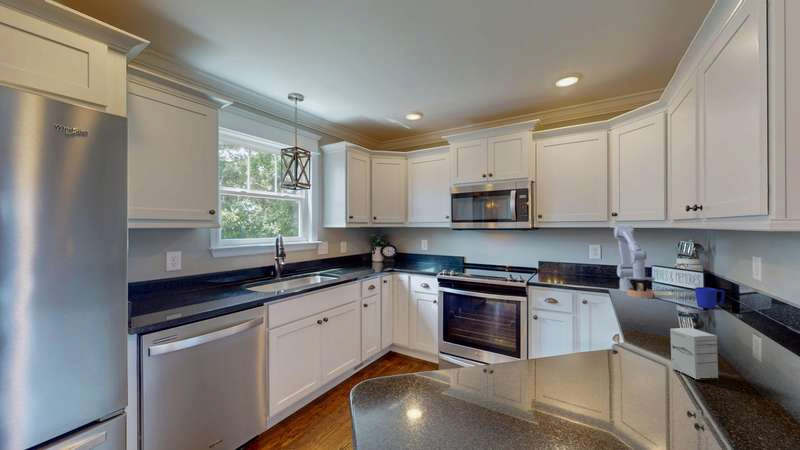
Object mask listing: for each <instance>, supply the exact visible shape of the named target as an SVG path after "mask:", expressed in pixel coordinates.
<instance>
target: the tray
mask: <svg viewBox="0 0 800 450" xmlns="http://www.w3.org/2000/svg"><path fill="white" fill-rule="evenodd" d="M653 298H657V299H660V298H661V299H678V300H679V299H680V298H681V297H680V295H679V294H676V293H674V292H673V291H667V290H666V291H665V290H653Z"/></svg>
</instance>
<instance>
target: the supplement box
mask: <svg viewBox="0 0 800 450" xmlns="http://www.w3.org/2000/svg"><path fill="white" fill-rule="evenodd" d="M669 331H670V332H669V333H670V358H671V359H670V360H671V361H670V362H671V363H670V364H671V369H672V368H674V369H676V370H678V371H680V372H683V373H685V374H687V375H689V376H691V377H693V378H695V379H700V378H718V379H719V365H718V364H719V362H718V359H719V358H718V335H716V334H712V333H708V332H706V331H703V330H700V329H696V328H693V327H679V328H678V327H677V328H670V330H669Z"/></svg>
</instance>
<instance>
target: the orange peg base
mask: <svg viewBox="0 0 800 450" xmlns="http://www.w3.org/2000/svg"><path fill="white" fill-rule="evenodd" d="M653 291H654V289H650V288H647V289H646V291H634V289H633V288H627V292H626V296H628V297H631V298H636V299H654V297H653Z"/></svg>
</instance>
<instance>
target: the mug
mask: <svg viewBox="0 0 800 450" xmlns="http://www.w3.org/2000/svg"><path fill="white" fill-rule="evenodd" d="M694 292H695V293H694V294H695V297H696V304H697V307H699V308H701V309H708V310H710V309H711V310H713V309H715V308H716V307H717V306H720V305H722V304H723V303H724V301H725V290H722V289H717V288H713V287H703V286H702V287H701V286H695V287H694ZM719 292H721V297H720V301H719V302H718V303H717V294H718V293H719Z"/></svg>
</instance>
